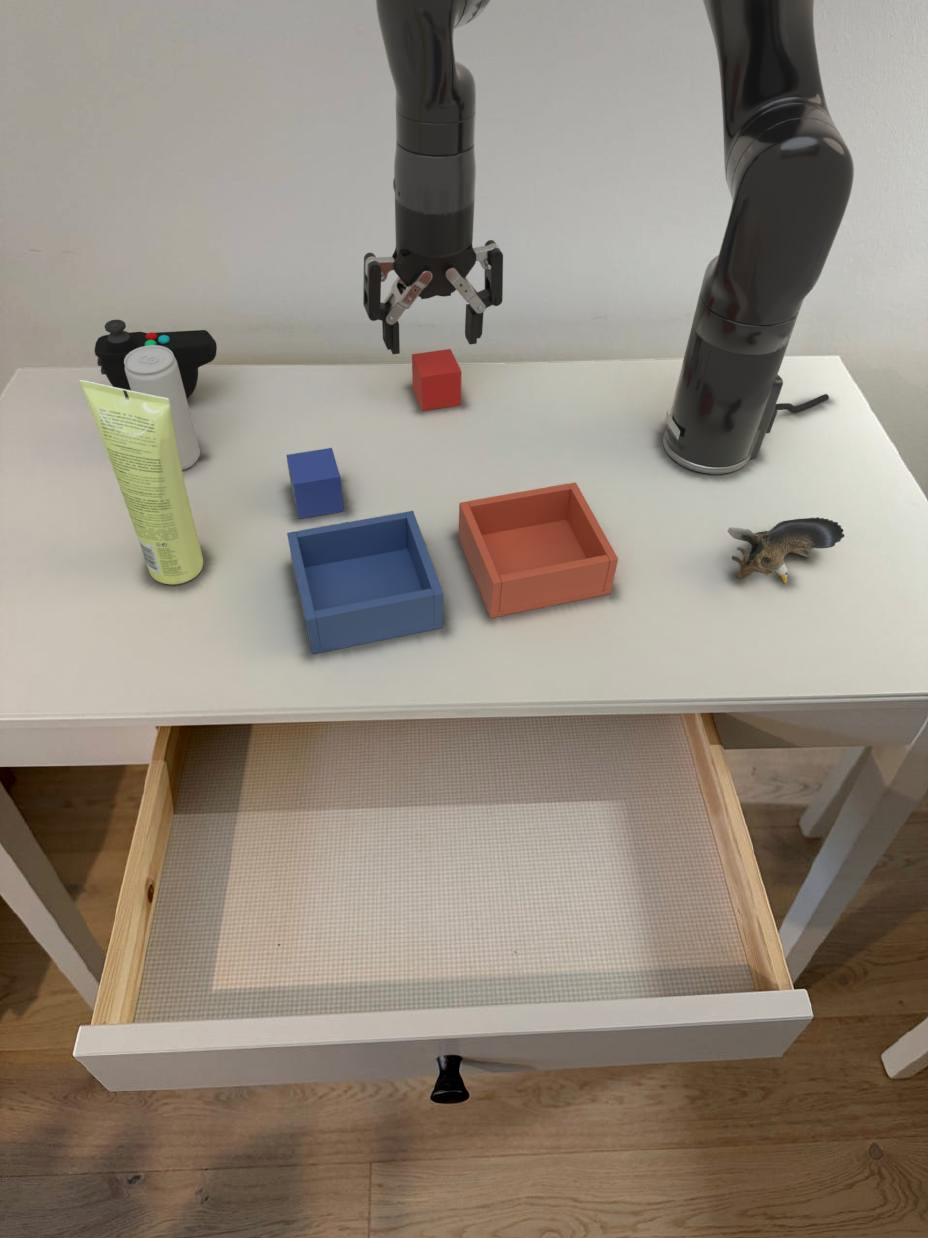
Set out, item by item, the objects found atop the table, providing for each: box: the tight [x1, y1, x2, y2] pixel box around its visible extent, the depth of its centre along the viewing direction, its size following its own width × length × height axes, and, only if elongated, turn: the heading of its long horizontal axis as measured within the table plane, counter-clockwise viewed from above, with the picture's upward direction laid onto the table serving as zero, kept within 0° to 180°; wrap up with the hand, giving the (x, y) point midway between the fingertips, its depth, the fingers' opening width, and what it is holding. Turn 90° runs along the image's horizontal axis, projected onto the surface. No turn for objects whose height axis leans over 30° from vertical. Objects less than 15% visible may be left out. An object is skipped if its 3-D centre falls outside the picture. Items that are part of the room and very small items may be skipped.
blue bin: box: [286, 510, 444, 655], centre depth 78 cm, size 12×11×5 cm
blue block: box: [285, 447, 345, 520], centre depth 86 cm, size 4×4×4 cm
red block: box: [411, 348, 462, 412], centre depth 98 cm, size 4×4×4 cm
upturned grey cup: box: [124, 345, 201, 471], centre depth 87 cm, size 5×5×12 cm
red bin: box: [457, 481, 619, 619], centre depth 81 cm, size 12×11×5 cm
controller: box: [93, 319, 218, 400], centre depth 94 cm, size 4×12×10 cm, turn 100°
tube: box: [79, 379, 204, 585], centre depth 74 cm, size 6×5×20 cm
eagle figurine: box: [727, 516, 845, 584], centre depth 81 cm, size 8×7×9 cm
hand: (432, 345), depth 94 cm, fingers open, 8 cm apart
